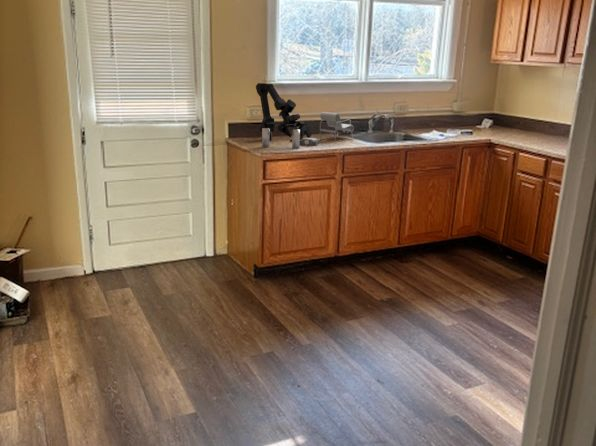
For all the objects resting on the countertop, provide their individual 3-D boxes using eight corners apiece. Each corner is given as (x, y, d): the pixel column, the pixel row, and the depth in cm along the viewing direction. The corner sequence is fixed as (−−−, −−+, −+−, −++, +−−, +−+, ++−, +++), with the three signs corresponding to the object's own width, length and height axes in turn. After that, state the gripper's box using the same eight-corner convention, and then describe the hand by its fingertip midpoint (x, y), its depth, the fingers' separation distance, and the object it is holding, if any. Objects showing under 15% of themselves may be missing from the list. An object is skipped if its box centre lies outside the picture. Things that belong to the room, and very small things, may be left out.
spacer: (260, 147, 374) (261, 128, 370) (263, 146, 378) (263, 127, 375) (267, 147, 373) (268, 129, 369) (270, 146, 377) (270, 128, 374)
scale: (297, 144, 387) (297, 139, 386) (303, 141, 401) (303, 136, 400) (315, 146, 384) (315, 140, 383) (320, 143, 398) (320, 137, 397)
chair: (318, 139, 412) (320, 112, 406) (338, 136, 431) (340, 110, 425) (334, 142, 404) (335, 114, 399) (353, 138, 423) (355, 111, 418)
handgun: (311, 135, 420) (309, 121, 413) (300, 148, 410) (297, 133, 402) (309, 135, 421) (306, 120, 414) (298, 147, 411) (295, 133, 403)
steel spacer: (291, 148, 374) (291, 129, 370) (293, 147, 378) (293, 128, 375) (298, 148, 373) (298, 130, 369) (300, 147, 377) (300, 129, 374)
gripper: (280, 109, 367) (290, 129, 362) (303, 108, 378) (313, 127, 372) (273, 121, 375) (282, 140, 370) (296, 119, 386) (305, 138, 381)
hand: (296, 136), depth 373 cm, fingers open, 9 cm apart
